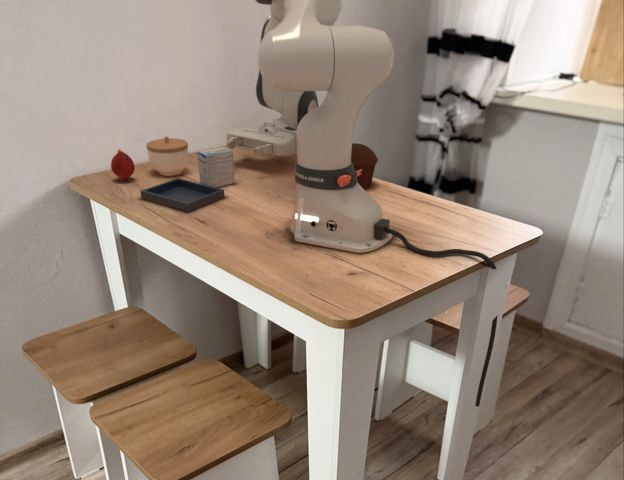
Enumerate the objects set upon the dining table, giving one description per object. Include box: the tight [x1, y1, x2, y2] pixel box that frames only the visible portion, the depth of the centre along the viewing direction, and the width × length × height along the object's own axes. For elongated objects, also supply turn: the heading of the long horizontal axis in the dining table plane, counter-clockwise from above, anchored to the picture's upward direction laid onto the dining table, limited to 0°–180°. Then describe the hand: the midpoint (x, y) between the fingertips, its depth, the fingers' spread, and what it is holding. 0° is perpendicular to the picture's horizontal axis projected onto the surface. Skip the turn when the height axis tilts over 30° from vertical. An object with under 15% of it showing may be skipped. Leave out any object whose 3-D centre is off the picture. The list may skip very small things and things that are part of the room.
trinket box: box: [145, 136, 189, 177], centre depth 160 cm, size 11×11×9 cm
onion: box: [110, 148, 136, 181], centre depth 154 cm, size 6×6×8 cm
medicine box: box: [197, 146, 236, 188], centre depth 152 cm, size 8×4×9 cm, turn 130°
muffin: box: [351, 142, 379, 190], centre depth 153 cm, size 12×11×10 cm
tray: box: [139, 177, 226, 213], centre depth 145 cm, size 16×13×2 cm
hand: (241, 148), depth 157 cm, fingers open, 8 cm apart
